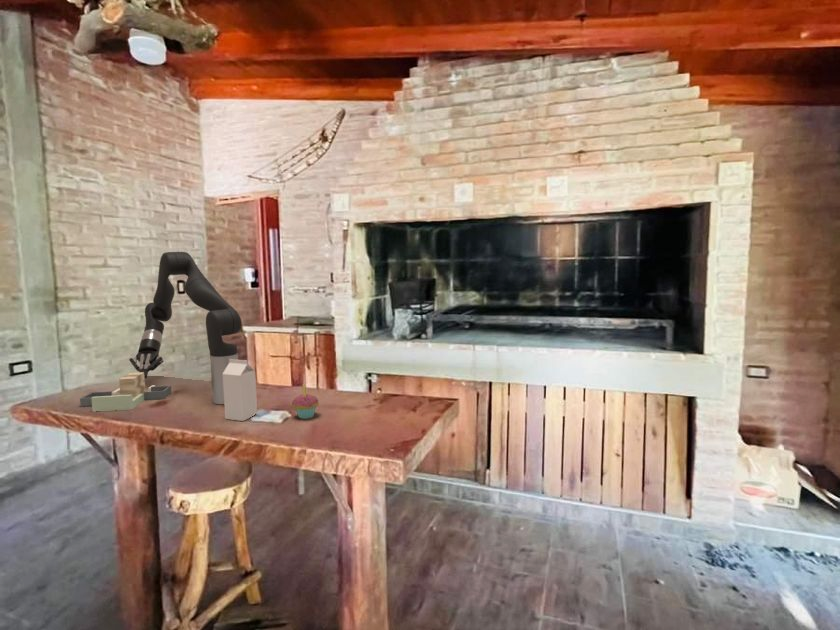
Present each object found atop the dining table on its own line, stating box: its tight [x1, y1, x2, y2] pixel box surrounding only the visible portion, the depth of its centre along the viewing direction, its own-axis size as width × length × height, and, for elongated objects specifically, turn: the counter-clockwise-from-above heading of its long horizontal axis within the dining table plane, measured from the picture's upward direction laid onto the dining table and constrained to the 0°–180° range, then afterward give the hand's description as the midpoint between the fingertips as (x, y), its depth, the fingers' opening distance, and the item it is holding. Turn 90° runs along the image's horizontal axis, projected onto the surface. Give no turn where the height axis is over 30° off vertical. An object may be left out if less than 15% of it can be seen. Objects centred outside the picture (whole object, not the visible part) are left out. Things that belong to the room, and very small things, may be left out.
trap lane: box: [79, 384, 172, 413], centre depth 182 cm, size 23×26×5 cm
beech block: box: [118, 371, 147, 399], centre depth 188 cm, size 10×5×8 cm, turn 9°
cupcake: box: [291, 381, 319, 420], centre depth 162 cm, size 9×8×12 cm
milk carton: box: [223, 359, 258, 422], centre depth 161 cm, size 7×7×19 cm
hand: (142, 378), depth 197 cm, fingers closed
